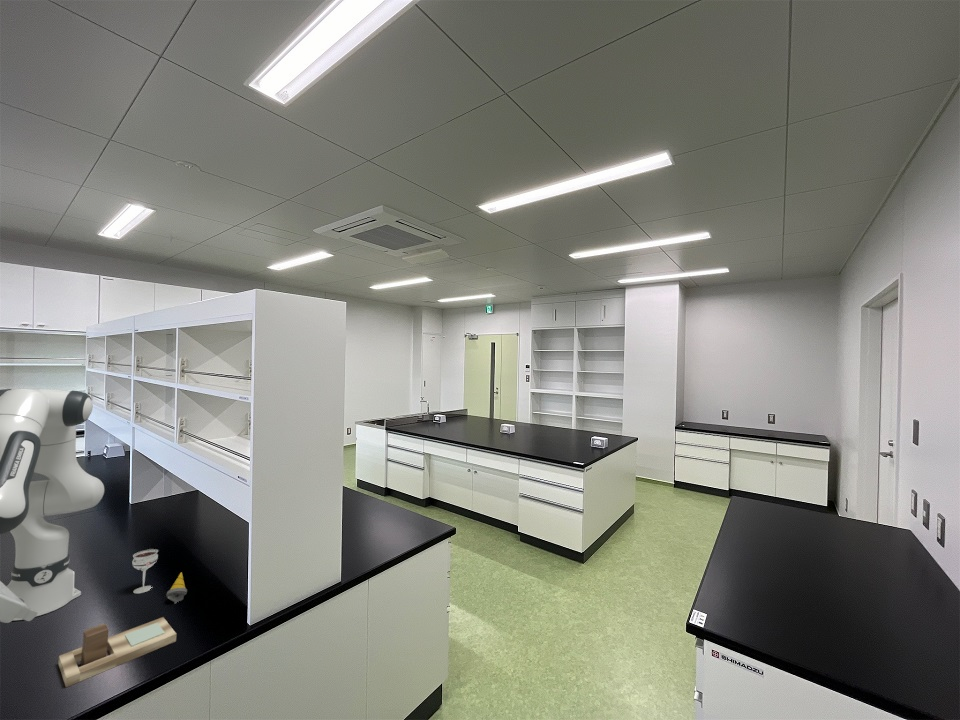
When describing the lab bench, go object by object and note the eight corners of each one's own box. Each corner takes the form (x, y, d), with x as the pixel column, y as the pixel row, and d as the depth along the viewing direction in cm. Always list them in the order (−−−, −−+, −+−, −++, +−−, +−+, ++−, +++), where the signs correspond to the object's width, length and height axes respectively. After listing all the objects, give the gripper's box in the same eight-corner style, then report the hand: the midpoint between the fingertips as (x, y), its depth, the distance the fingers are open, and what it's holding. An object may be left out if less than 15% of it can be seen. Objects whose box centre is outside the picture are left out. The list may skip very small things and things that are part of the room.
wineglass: (144, 583, 137) (147, 548, 137) (161, 585, 136) (163, 550, 136) (124, 593, 130) (127, 556, 131) (141, 595, 129) (144, 558, 130)
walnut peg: (80, 663, 98) (83, 630, 99) (102, 655, 102) (105, 623, 102) (83, 671, 96) (86, 637, 96) (105, 662, 99) (108, 629, 100)
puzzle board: (58, 663, 98) (59, 654, 98) (162, 624, 115) (163, 616, 115) (65, 687, 91) (66, 677, 91) (176, 641, 107) (176, 632, 108)
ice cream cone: (160, 607, 124) (167, 574, 131) (178, 608, 127) (185, 576, 134) (170, 599, 122) (177, 567, 129) (188, 600, 126) (194, 569, 133)
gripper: (-8, 581, 78) (57, 608, 86) (-32, 558, 88) (28, 584, 96) (-48, 616, 74) (25, 641, 82) (-69, 587, 84) (-2, 612, 92)
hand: (26, 610), depth 89 cm, fingers open, 8 cm apart
